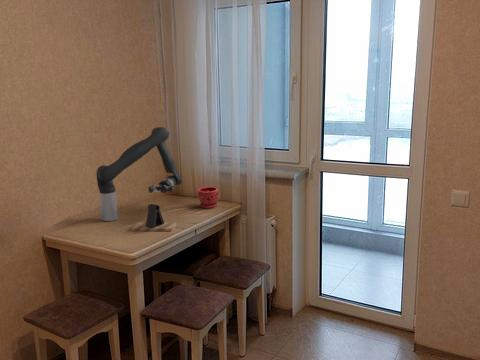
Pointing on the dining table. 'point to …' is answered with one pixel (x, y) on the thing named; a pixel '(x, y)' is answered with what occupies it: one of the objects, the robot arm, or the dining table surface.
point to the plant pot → (208, 197)
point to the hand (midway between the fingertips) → (157, 191)
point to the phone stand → (154, 216)
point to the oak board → (142, 227)
